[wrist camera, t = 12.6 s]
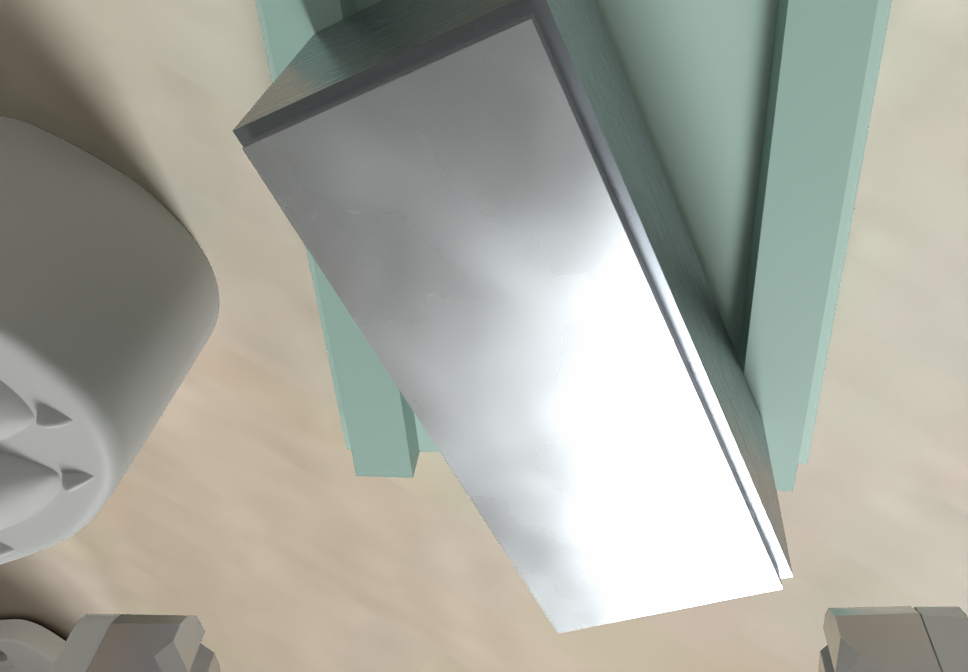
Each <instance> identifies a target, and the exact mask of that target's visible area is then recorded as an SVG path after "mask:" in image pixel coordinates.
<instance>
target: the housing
mask: <svg viewBox="0 0 968 672" xmlns="http://www.w3.org/2000/svg"><path fill="white" fill-rule="evenodd" d="M233 132H234V133H235V135H236V136H237V138H238V140H239V141H240V143H241V144H242V146H243V148H242V149H243V150H244V152H245V154H246V155H247V157H248V158H249V160H250V161H251V163H252V164H253V166H254V167H255V169H256V170H257V172H258V174H259V175H260V177H261V178H262V180H263V181H264V183H265V184H266V186H267V187H268V189H269V190H270V192H271V193H272V195H273V197H274V198H275V200H276V201H277V203H278V204H279V206H280V207H281V209H282V210H283V212H284V213H285V215H286V217H287V218H288V220H289V221H290V223H291V224H292V226H293V227H294V229H295V230H296V232H297V233H298V235H299V236H300V238H301V240H302V241H303V243H304V244H305V246H306V247H307V249H308V250H309V252H310V253H311V255H312V256H313V258H314V260H315V261H316V263H317V264H318V266H319V267H320V269H321V270H322V272H323V273H324V275H325V276H326V278H327V280H328V281H329V283H330V284H331V286H332V287H333V289H334V290H335V292H336V293H337V295H338V296H339V298H340V299H341V301H342V303H343V304H344V306H345V307H346V309H347V310H348V312H349V313H350V315H351V316H352V318H353V319H354V321H355V323H356V324H357V326H358V327H359V329H360V330H361V332H362V333H363V335H364V336H365V338H366V339H367V341H368V342H369V344H370V346H371V347H372V349H373V350H374V352H375V353H376V355H377V356H378V358H379V359H380V361H381V362H382V364H383V366H384V367H385V369H386V370H387V372H388V373H389V375H390V376H391V378H392V379H393V381H394V382H395V384H396V385H397V387H398V389H399V390H400V392H401V393H402V395H403V396H404V398H405V399H406V401H407V402H408V404H409V405H410V407H411V409H412V410H413V412H414V413H415V415H416V416H417V418H418V419H419V421H420V422H421V424H422V425H423V427H424V428H425V430H426V432H427V433H428V435H429V436H430V438H431V439H432V441H433V442H434V444H435V445H436V447H437V448H438V450H439V452H440V453H441V455H442V456H443V458H444V459H445V461H446V462H447V464H448V465H449V467H450V468H451V470H452V472H453V473H454V475H455V476H456V478H457V479H458V481H459V482H460V484H461V485H462V487H463V488H464V490H465V491H466V493H467V495H468V496H469V498H470V499H471V501H472V502H473V504H474V505H475V507H476V508H477V510H478V511H479V513H480V515H481V516H482V518H483V519H484V521H485V522H486V524H487V525H488V527H489V528H490V530H491V531H492V533H493V534H494V536H495V538H496V539H497V541H498V542H499V544H500V545H501V547H502V548H503V550H504V551H505V553H506V554H507V556H508V558H509V559H510V561H511V562H512V564H513V565H514V567H515V568H516V570H517V571H518V573H519V574H520V576H521V577H522V579H523V581H524V582H525V584H526V585H527V587H528V588H529V590H530V591H531V593H532V594H533V596H534V597H535V599H536V601H537V602H538V604H539V605H540V607H541V608H542V610H543V611H544V613H545V614H546V616H547V617H548V619H549V620H550V622H551V624H552V625H553V627H554V628H555V630H556V631H557V633H563V632H568V631H573V630H578V629H583V628H588V627H593V626H598V625H603V624H608V623H613V622H618V621H623V620H628V619H633V618H638V617H643V616H648V615H653V614H658V613H663V612H668V611H673V610H678V609H683V608H688V607H693V606H698V605H703V604H708V603H713V602H718V601H723V600H728V599H733V598H738V597H743V596H748V595H753V594H758V593H764V592H769V591H774V590H779V589H783V588H782V583H781V579H783V578H788V577H793V574H792V569H791V564H790V559H789V554H788V548H787V543H786V538H785V533H784V528H783V522H782V517H781V512H780V507H779V501H778V496H777V491H776V486H775V481H774V475H773V470H772V465H771V460H770V455H769V449H768V444H767V439H766V434H765V429H764V423H763V419H762V417H761V414H760V412H759V409H758V407H757V405H756V402H755V400H754V397H753V395H752V392H751V390H750V387H749V385H748V382H747V380H746V377H745V375H744V372H743V370H742V367H741V365H740V362H739V360H738V357H737V355H736V352H735V350H734V347H733V345H732V342H731V340H730V337H729V335H728V332H727V330H726V327H725V325H724V322H723V320H722V317H721V315H720V312H719V310H718V307H717V305H716V302H715V300H714V297H713V295H712V292H711V290H710V287H709V285H708V282H707V280H706V278H705V275H704V273H703V270H702V268H701V265H700V263H699V260H698V258H697V255H696V253H695V250H694V248H693V245H692V243H691V240H690V238H689V235H688V233H687V230H686V228H685V225H684V223H683V220H682V218H681V215H680V213H679V210H678V208H677V205H676V203H675V200H674V198H673V195H672V193H671V190H670V188H669V185H668V183H667V180H666V178H665V175H664V173H663V170H662V168H661V165H660V163H659V160H658V158H657V155H656V153H655V151H654V148H653V146H652V143H651V141H650V138H649V136H648V133H647V131H646V128H645V126H644V123H643V121H642V118H641V116H640V113H639V111H638V108H637V106H636V103H635V101H634V98H633V96H632V93H631V91H630V88H629V86H628V83H627V81H626V78H625V76H624V73H623V71H622V68H621V66H620V63H619V61H618V58H617V56H616V53H615V51H614V48H613V46H612V43H611V41H610V38H609V36H608V33H607V31H606V28H605V26H604V24H603V21H602V19H601V16H600V14H599V11H598V9H597V6H596V4H595V1H594V0H382V1H380V2H378V3H376V4H374V5H372V6H370V7H368V8H366V9H364V10H361V11H359V12H357V13H355V14H353V15H351V16H349V17H347V18H345V19H343V20H341V21H339V22H337V23H335V24H333V25H331V26H329V27H326V28H324V29H322V30H320V31H318V32H316V33H315V34H314V35H313V36H312V37H311V38H310V40H309V41H308V42H307V43H306V44H305V46H304V47H303V48H302V49H301V50H300V51H299V53H298V54H297V55H296V56H295V57H294V59H293V60H292V61H291V62H290V63H289V65H288V66H287V67H286V68H285V69H284V70H283V72H282V73H281V74H280V75H279V76H278V78H277V79H276V80H275V81H274V82H273V83H272V85H271V86H270V87H269V88H268V89H267V91H266V92H265V93H264V94H263V95H262V97H261V98H260V99H259V100H258V101H257V102H256V104H255V105H254V106H253V107H252V108H251V110H250V111H249V112H248V113H247V114H246V116H245V117H244V118H243V119H242V120H241V121H240V123H239V124H238V125H237V126H236V127H235V129H234V130H233Z"/></svg>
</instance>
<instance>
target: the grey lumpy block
mask: <svg viewBox="0 0 968 672" xmlns="http://www.w3.org/2000/svg"><path fill="white" fill-rule="evenodd" d="M218 314H219V292H218V286H217V282H216V278H215V275H214V272H213V270H212V267H211V265H210V263H209V261H208V259H207V257H206V256H205V254H204V252H203V251H202V249H201V248H200V246H199V245H198V243H197V242H196V241H195V239H194V238H193V237H192V236H191V234H190V233H189V232H188V231H187V230H186V228H185V227H184V226H183V225H182V224H181V223H180V222H179V221H178V220H177V219H176V218H175V217H174V216H173V215H172V214H171V213H170V212H169V211H168V210H167V209H166V208H165V207H164V206H163V205H162V204H161V203H160V202H159V201H158V200H157V199H156V198H155V197H153V196H152V195H151V194H150V193H149V192H148V191H147V190H145V189H144V188H143V187H142V186H140V185H139V184H138V183H136V182H135V181H134V180H132V179H131V178H129V177H128V176H126V175H125V174H123V173H122V172H120V171H118V170H117V169H115V168H113V167H112V166H110V165H108V164H107V163H105V162H103V161H102V160H100V159H98V158H96V157H95V156H93V155H91V154H89V153H87V152H86V151H84V150H82V149H80V148H78V147H76V146H74V145H73V144H71V143H69V142H67V141H65V140H63V139H61V138H59V137H57V136H55V135H53V134H51V133H49V132H47V131H45V130H43V129H40V128H38V127H36V126H34V125H31V124H29V123H26V122H23V121H20V120H17V119H12V118H8V117H3V116H0V564H4V563H7V562H11V561H13V560H16V559H19V558H23V557H26V556H28V555H31V554H34V553H36V552H39V551H41V550H44V549H46V548H48V547H51V546H53V545H55V544H57V543H59V542H62V541H64V540H66V539H68V538H69V537H71V536H73V535H74V534H76V533H77V532H78V531H79V530H81V529H82V528H83V527H84V526H85V525H87V524H88V523H89V522H90V521H91V520H92V519H93V518H94V517H95V516H96V515H97V514H98V512H99V511H100V510H101V509H102V507H103V506H104V505H105V503H106V502H107V500H108V499H109V497H110V496H111V494H112V493H113V491H114V490H115V488H116V487H117V485H118V484H119V482H120V481H121V479H122V478H123V476H124V474H125V473H126V471H127V470H128V468H129V467H130V465H131V463H132V462H133V460H134V459H135V457H136V456H137V454H138V452H139V451H140V449H141V448H142V446H143V444H144V443H145V441H146V439H147V438H148V436H149V435H150V433H151V431H152V430H153V428H154V426H155V425H156V423H157V422H158V420H159V418H160V417H161V415H162V414H163V412H164V410H165V409H166V407H167V406H168V404H169V402H170V401H171V399H172V397H173V396H174V394H175V393H176V391H177V389H178V388H179V386H180V384H181V383H182V381H183V380H184V378H185V376H186V375H187V373H188V371H189V370H190V368H191V367H192V365H193V363H194V362H195V360H196V359H197V357H198V355H199V354H200V352H201V350H202V349H203V347H204V346H205V344H206V342H207V341H208V339H209V337H210V336H211V334H212V332H213V329H214V327H215V325H216V322H217V318H218Z"/></svg>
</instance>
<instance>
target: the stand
mask: <svg viewBox="0 0 968 672" xmlns="http://www.w3.org/2000/svg"><path fill="white" fill-rule="evenodd" d="M255 1H256V6H257V11H258V16H259V20H260V25H261V30H262V35H263V40H264V45H265V50H266V55H267V60H268V65H269V69H270V74H271V79H272V83H273V82H274V81H275V80H276V79H277V78H278V76H279V75H280V74H281V73H282V72H283V70H284V69H285V68H286V67H287V66H288V65H289V63H290V62H291V61H292V60H293V59H294V57H295V56H296V55H297V54H298V53H299V51H300V50H301V49H302V48H303V47H304V46H305V44H306V43H307V42H308V41H309V40H310V38H311V37H312V36H313V35H314V34H315V33H316V32H318V31H320V30H322V29H324V28H326V27H329V26H331V25H333V24H335V23H337V22H339V21H341V20H343V19H345V18H347V17H349V16H351V15H353V14H355V13H357V12H359V11H361V10H364V9H366V8H368V7H370V6H372V5H374V4H376V3H378V2H380V1H382V0H255ZM594 1H595V4H596V6H597V9H598V11H599V14H600V16H601V19H602V21H603V24H604V26H605V28H606V31H607V33H608V36H609V38H610V41H611V43H612V46H613V48H614V51H615V53H616V56H617V58H618V61H619V63H620V66H621V68H622V71H623V73H624V76H625V78H626V81H627V83H628V86H629V88H630V91H631V93H632V96H633V98H634V101H635V103H636V106H637V108H638V111H639V113H640V116H641V118H642V121H643V123H644V126H645V128H646V131H647V133H648V136H649V138H650V141H651V143H652V146H653V148H654V151H655V153H656V155H657V158H658V160H659V163H660V165H661V168H662V170H663V173H664V175H665V178H666V180H667V183H668V185H669V188H670V190H671V193H672V195H673V198H674V200H675V203H676V205H677V208H678V210H679V213H680V215H681V218H682V220H683V223H684V225H685V228H686V230H687V233H688V235H689V238H690V240H691V243H692V245H693V248H694V250H695V253H696V255H697V258H698V260H699V263H700V265H701V268H702V270H703V273H704V275H705V278H706V280H707V282H708V285H709V287H710V290H711V292H712V295H713V297H714V300H715V302H716V305H717V307H718V310H719V312H720V315H721V317H722V320H723V322H724V325H725V327H726V330H727V332H728V335H729V337H730V340H731V342H732V345H733V347H734V350H735V352H736V355H737V357H738V360H739V362H740V365H741V367H742V370H743V372H744V375H745V377H746V380H747V382H748V385H749V387H750V390H751V392H752V395H753V397H754V400H755V402H756V405H757V407H758V409H759V412H760V414H761V417H762V419H763V423H764V429H765V434H766V439H767V444H768V449H769V455H770V460H771V465H772V470H773V475H774V481H775V486H776V491H793V489H794V483H795V477H796V471H797V466H798V463H802V464H808V459H809V453H810V448H811V442H812V437H813V431H814V426H815V420H816V415H817V409H818V404H819V398H820V393H821V387H822V382H823V376H824V371H825V365H826V360H827V354H828V349H829V343H830V338H831V332H832V327H833V321H834V316H835V310H836V305H837V299H838V294H839V288H840V283H841V277H842V272H843V266H844V261H845V255H846V250H847V244H848V239H849V233H850V228H851V222H852V217H853V211H854V206H855V200H856V195H857V189H858V184H859V178H860V173H861V167H862V162H863V156H864V151H865V145H866V140H867V134H868V129H869V123H870V118H871V112H872V107H873V101H874V96H875V90H876V85H877V79H878V74H879V68H880V63H881V57H882V52H883V46H884V41H885V35H886V30H887V24H888V19H889V13H890V8H891V2H892V0H594ZM306 251H307V256H308V261H309V266H310V271H311V275H312V280H313V285H314V290H315V295H316V300H317V305H318V310H319V315H320V320H321V325H322V329H323V334H324V339H325V344H326V349H327V354H328V359H329V364H330V369H331V374H332V379H333V383H334V388H335V393H336V398H337V403H338V408H339V413H340V418H341V423H342V428H343V432H344V437H345V442H346V447H347V449H351V451H352V456H353V461H354V466H355V471H356V476H374V477H403V478H413V475H414V471H415V467H416V463H417V460H418V456H419V452H439V450H438V448H437V447H436V445H435V444H434V442H433V441H432V439H431V438H430V436H429V435H428V433H427V432H426V430H425V428H424V427H423V425H422V424H421V422H420V421H419V419H418V418H417V416H416V415H415V413H414V412H413V410H412V409H411V407H410V405H409V404H408V402H407V401H406V399H405V398H404V396H403V395H402V393H401V392H400V390H399V389H398V387H397V385H396V384H395V382H394V381H393V379H392V378H391V376H390V375H389V373H388V372H387V370H386V369H385V367H384V366H383V364H382V362H381V361H380V359H379V358H378V356H377V355H376V353H375V352H374V350H373V349H372V347H371V346H370V344H369V342H368V341H367V339H366V338H365V336H364V335H363V333H362V332H361V330H360V329H359V327H358V326H357V324H356V323H355V321H354V319H353V318H352V316H351V315H350V313H349V312H348V310H347V309H346V307H345V306H344V304H343V303H342V301H341V299H340V298H339V296H338V295H337V293H336V292H335V290H334V289H333V287H332V286H331V284H330V283H329V281H328V280H327V278H326V276H325V275H324V273H323V272H322V270H321V269H320V267H319V266H318V264H317V263H316V261H315V260H314V258H313V256H312V255H311V253H310V252H309V250H308V249H307V247H306Z"/></svg>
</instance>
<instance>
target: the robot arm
mask: <svg viewBox="0 0 968 672" xmlns="http://www.w3.org/2000/svg"><path fill="white" fill-rule="evenodd" d="M823 628H824V632H825V636H826V640H827V644H828V645H827V646H826V647H825V648H823V649H822V650H821V651H820V659H819V672H968V618H967V615H966V614H965V613H964V612H963V611H962V610H961V609H960V608H959V607H914V608H912V607H911V606H896V607H853V608H828V610H827V612H826V614H825V620H824V626H823ZM204 633H205V631H204V629H203V627H202V625H201V623H200V621H199V619H198V617H197V616H183V615H131V614H87V615H85V616H84V617H83V618H82V619H81V620H80V621H78V622H77V623H76V625H75V626H74V628H73V630H72V631H71V633H70V635H69V637H68V639H67V641H65V640H63V639H62V638H60V637H59V636H57V635H56V634H54V633H53V632H51V631H49V630H48V629H46V628H44V627H42V626H40V625H38V624H36V623H33V622H30V621H26V620H20V619H8V620H0V672H220V665H219V663H218V660H217V658H216V656H215V653H214V652H212V651H211V650H209V649H208V648H206V647H205V646H204V645H202V644H201V641H202V638H203V636H204Z"/></svg>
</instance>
